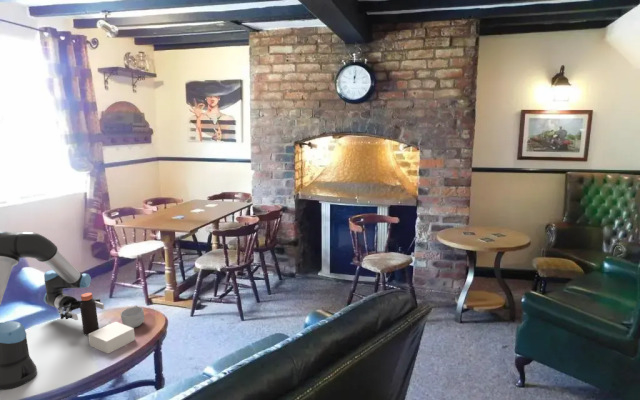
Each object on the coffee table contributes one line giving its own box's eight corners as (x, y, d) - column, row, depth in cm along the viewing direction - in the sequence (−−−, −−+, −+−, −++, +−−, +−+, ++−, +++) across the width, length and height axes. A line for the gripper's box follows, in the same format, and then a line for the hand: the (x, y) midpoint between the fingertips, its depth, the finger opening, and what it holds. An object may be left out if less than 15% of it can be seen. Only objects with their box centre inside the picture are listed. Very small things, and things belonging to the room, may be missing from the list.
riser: (108, 353, 195) (106, 341, 193) (89, 345, 202) (88, 333, 201) (135, 339, 206) (133, 328, 205) (117, 332, 213) (115, 321, 212)
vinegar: (96, 327, 219) (91, 290, 215) (101, 331, 215) (96, 294, 211) (81, 332, 214) (76, 294, 211) (86, 337, 210) (81, 298, 206)
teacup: (139, 330, 215) (138, 315, 214) (118, 330, 216) (116, 315, 214) (150, 317, 229) (149, 303, 228) (130, 317, 229) (128, 303, 228)
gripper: (90, 300, 234) (114, 309, 224) (41, 319, 213) (65, 329, 203) (88, 287, 233) (112, 295, 222) (39, 305, 212) (63, 315, 201)
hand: (90, 311), depth 212 cm, fingers open, 13 cm apart
